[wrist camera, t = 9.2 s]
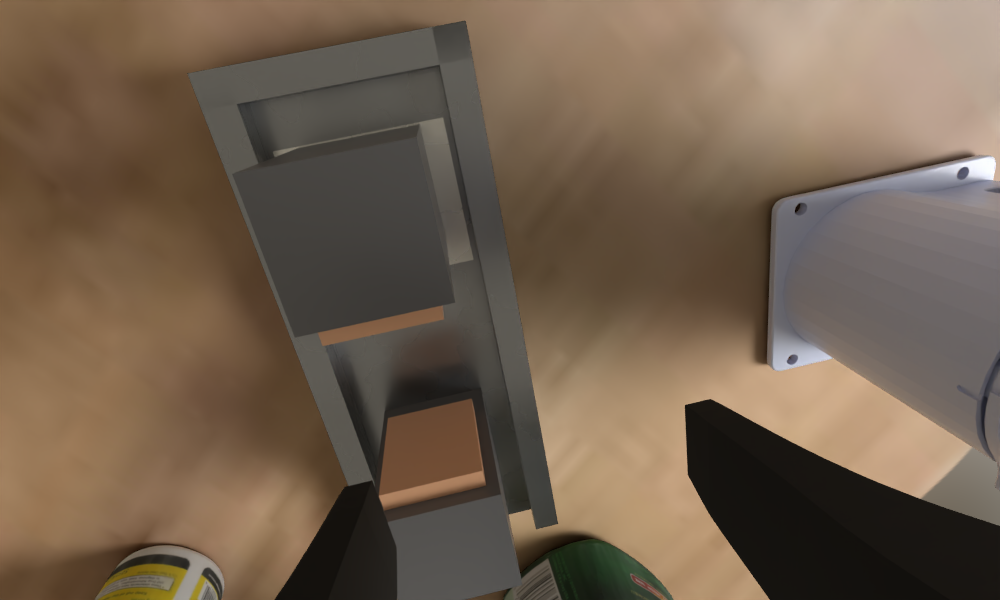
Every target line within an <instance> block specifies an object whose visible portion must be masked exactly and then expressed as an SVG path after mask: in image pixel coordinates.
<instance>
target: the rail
mask: <svg viewBox="0 0 1000 600" xmlns="http://www.w3.org/2000/svg"><path fill="white" fill-rule="evenodd" d="M187 74H188V76H189V79H190V82H191V84H192V87H193V89H194V92H195V94H196V97H197V100H198V102H199V105H200V107H201V110H202V112H203V115H204V117H205V120H206V123H207V125H208V128H209V130H210V133H211V135H212V138H213V141H214V143H215V146H216V148H217V151H218V153H219V156H220V158H221V161H222V164H223V166H224V169H225V171H226V174H227V176H228V179H229V181H230V184H231V187H232V189H233V192H234V194H235V197H236V199H237V202H238V205H239V207H240V210H241V212H242V215H243V217H244V220H245V222H246V225H247V228H248V230H249V233H250V235H251V238H252V240H253V243H254V246H255V248H256V251H257V253H258V256H259V258H260V261H261V263H262V266H263V269H264V271H265V274H266V276H267V279H268V281H269V284H270V286H271V289H272V292H273V294H274V297H275V299H276V302H277V304H278V307H279V310H280V312H281V315H282V317H283V320H284V322H285V325H286V327H287V330H288V333H289V335H290V338H291V340H292V343H293V345H294V348H295V351H296V353H297V356H298V358H299V361H300V363H301V366H302V368H303V371H304V374H305V376H306V379H307V381H308V384H309V386H310V389H311V391H312V394H313V397H314V399H315V402H316V404H317V407H318V409H319V412H320V415H321V417H322V420H323V422H324V425H325V427H326V430H327V432H328V435H329V438H330V440H331V443H332V445H333V448H334V450H335V453H336V456H337V458H338V461H339V463H340V466H341V468H342V471H343V473H344V476H345V479H346V481H347V484H348V486H350V485H355V484H359V483H363V482H367V481H371V480H372V481H373V483H374V486H375V481H376V474H377V466H378V458H379V451H380V443H381V436H382V428H383V421H384V413H385V411H386V410H390V409H394V408H399V407H403V406H407V405H412V404H416V403H420V402H425V401H429V400H433V399H437V398H442V397H446V396H450V395H455V394H459V393H463V392H468V391H472V390H476V389H480V388H481V391H482V395H483V399H484V404H485V408H486V412H487V417H488V421H489V425H490V429H491V434H492V438H493V442H494V447H495V451H496V455H497V460H498V464H499V469H500V474H501V479H502V484H503V489H504V494H505V499H506V504H507V509H508V514H512V513H516V512H521V511H525V510H529V509H531V511H532V515H533V519H534V523H535V526H536V529H539V528H543V527H547V526H551V525H555V524H558V521H557V516H556V510H555V505H554V499H553V494H552V488H551V483H550V477H549V472H548V467H547V461H546V456H545V450H544V445H543V439H542V434H541V428H540V423H539V418H538V412H537V407H536V401H535V396H534V390H533V385H532V379H531V374H530V368H529V363H528V358H527V352H526V347H525V341H524V336H523V330H522V325H521V319H520V314H519V308H518V303H517V298H516V292H515V287H514V281H513V276H512V270H511V265H510V259H509V254H508V249H507V243H506V238H505V232H504V227H503V221H502V216H501V210H500V205H499V199H498V194H497V189H496V183H495V178H494V172H493V167H492V161H491V156H490V150H489V145H488V139H487V134H486V129H485V123H484V118H483V112H482V107H481V101H480V96H479V90H478V85H477V80H476V74H475V69H474V63H473V58H472V52H471V47H470V41H469V36H468V30H467V25H466V21H461V22H456V23H450V24H445V25H440V26H435V27H429V28H424V29H419V30H414V31H408V32H403V33H398V34H392V35H387V36H382V37H377V38H371V39H366V40H361V41H356V42H350V43H345V44H340V45H335V46H329V47H324V48H319V49H314V50H308V51H303V52H298V53H293V54H287V55H282V56H277V57H271V58H266V59H261V60H256V61H250V62H245V63H240V64H235V65H229V66H224V67H219V68H214V69H208V70H203V71H198V72H193V73H187ZM418 124H420V128H421V132H422V136H423V141H424V145H425V149H426V154H427V158H428V163H429V167H430V171H431V176H432V180H433V184H434V189H435V193H436V198H437V202H438V206H439V211H440V215H441V219H442V224H443V228H444V233H445V237H446V242H447V249H448V256H449V263H450V270H451V277H452V284H453V291H454V298H455V303H451V304H447V305H443V313H444V320H439V321H435V322H430V323H426V324H421V325H417V326H412V327H407V328H403V329H398V330H394V331H389V332H385V333H380V334H376V335H371V336H367V337H362V338H358V339H353V340H348V341H344V342H339V343H335V344H330V345H326V346H322V343H321V340H320V338H319V335H318V333H314V334H310V335H305V336H301V337H296V338H295V337H294V334H293V332H292V329H291V327H290V324H289V321H288V319H287V316H286V314H285V311H284V308H283V306H282V303H281V300H280V298H279V295H278V293H277V290H276V287H275V285H274V282H273V280H272V277H271V274H270V272H269V269H268V266H267V264H266V261H265V259H264V256H263V253H262V251H261V248H260V246H259V243H258V240H257V238H256V235H255V232H254V230H253V227H252V225H251V222H250V219H249V217H248V214H247V212H246V209H245V206H244V204H243V201H242V198H241V196H240V193H239V191H238V188H237V185H236V183H235V180H234V178H233V175H232V174H233V173H236V172H238V171H241V170H243V169H246V168H248V167H251V166H253V165H256V164H259V163H261V162H264V161H266V160H269V159H271V158H274V157H276V156H279V155H282V154H284V153H287V152H289V151H292V150H294V149H297V148H301V147H306V146H311V145H316V144H321V143H326V142H331V141H337V140H342V139H347V138H352V137H357V136H362V135H367V134H372V133H377V132H382V131H387V130H392V129H397V128H402V127H408V126H413V125H418Z"/></svg>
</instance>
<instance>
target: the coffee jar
mask: <svg viewBox="0 0 1000 600" xmlns="http://www.w3.org/2000/svg"><path fill="white" fill-rule="evenodd" d="M520 575H521V580H522V585H521V586H517V587H513V588H509V589H508V591H507V592H506V594H505V596H504V598H503V600H673V598H672V596H671V595H670V593H669V592H668V590H667V589H666V588H665V587H664V586H663V584H662V583H661V582H660V581H659V580H658V579H657V578H656V577H655V576H654V575H653V574H652V573H651V572H650V571H649V570H648V569H646V568H645V567H644V566H643V565H642V564H640V563H639V562H638V561H637V560H635V559H634V558H632V557H631V556H629V555H628V554H626V553H625V552H623V551H622V550H620V549H618V548H616V547H615V546H613V545H611V544H609V543H606V542H604V541H600V540H596V539H588V540H584V541H579V542H574V543H571V544H568V545H565V546H563V547H561V548H558V549H555V550H552V551H550V552H548V553H546V554H545V555H543V556H542V557H540V558H539V559H537V560H536V561H535V562H533V563H532V564H531V565H530V566H529V567H527V568H526V569H525V570H524V571H523V572H522V573H521V574H520Z"/></svg>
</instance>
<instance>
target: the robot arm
mask: <svg viewBox="0 0 1000 600" xmlns="http://www.w3.org/2000/svg"><path fill="white" fill-rule="evenodd" d="M995 167H996V161H995V159H994V157H992V156H987V155H978V156H973V157H968V158H964V159H959V160H955V161H950V162H945V163H941V164H936V165H932V166H927V167H923V168H918V169H913V170H909V171H904V172H900V173H895V174H890V175H886V176H881V177H877V178H872V179H868V180H863V181H858V182H854V183H849V184H845V185H840V186H835V187H831V188H826V189H822V190H817V191H813V192H808V193H803V194H799V195H794V196H790V197H785V198H782V199H780V200H778V201H777V202H776V203H775V205H774V206H773V209H772V220H771V251H770V281H769V312H768V342H767V364H768V365H769V366H770V367H771V368H772V369H773V370H775V371H783V370H787V369H791V368H795V367H799V366H804V365H808V364H812V363H816V362H820V361H824V360H829V359H833V358H834V359H835V360H837V361H839V362H840V363H842V364H843V365H845V366H846V367H848V368H850V369H851V370H853V371H854V372H856V373H857V374H859V375H860V376H862V377H864V378H865V379H867V380H868V381H870V382H871V383H873V384H875V385H876V386H878V387H879V388H881V389H882V390H884V391H886V392H887V393H889V394H890V395H892V396H893V397H895V398H897V399H898V400H900V401H901V402H903V403H904V404H906V405H907V406H909V407H911V408H912V409H914V410H915V411H917V412H918V413H920V414H922V415H923V416H925V417H926V418H928V419H929V420H931V421H933V422H934V423H936V424H937V425H939V426H940V427H942V428H944V429H945V430H947V431H948V432H950V433H951V434H953V435H954V436H956V437H958V438H959V439H961V440H962V441H964V442H965V443H967V444H969V445H970V446H972V447H973V448H975V449H977V450H978V451H980V452H981V453H983V454H984V455H986V456H987V457H989V458H991V459H992V460H994V461H996V462H997V464H998V475H997V479H996V482H995V488H997V489H998V490H999V491H1000V181H993V177H994V172H995ZM958 171H959V173H958ZM957 173H958V175H957ZM799 203H800V209H799V210H798V211H797V212H796V213H795V207H796V206H797V205H798V204H799ZM791 355H792V356H791ZM789 356H791V358H790V359H788V357H789ZM787 359H788V360H787ZM685 419H686V442H687V465H688V476H689V478H690V479H691V481H692V483H693V485H694V487H695V489H696V491H697V493H698V495H699V496H700V498H701V500H702V502H703V504H704V505H705V507H706V509H707V511H708V512H709V514H710V516H711V517H712V519H713V520H714V522H715V523H716V525H717V526H718V527H719V529H720V530H721V532H722V533H723V535H724V536H725V537H726V539H727V540H728V542H729V543H730V545H731V546H732V547H733V549H734V550H735V552H736V553H737V554H738V556H739V557H740V559H741V560H742V561H743V563H744V564H745V566H746V567H747V568H748V570H749V571H750V573H751V574H752V575H753V577H754V578H755V579H756V581H757V582H758V584H759V585H760V586H761V588H762V589H763V591H764V592H765V593H766V595H767V596H768V598H769V599H770V600H1000V526H998V525H995V524H992V523H989V522H986V521H983V520H980V519H977V518H973V517H971V516H968V515H965V514H962V513H958V512H955V511H953V510H949V509H946V508H944V507H941V506H938V505H935V504H932V503H930V502H927V501H924V500H921V499H919V498H916V497H914V496H911V495H909V494H906V493H903V492H901V491H898V490H896V489H893V488H891V487H888V486H886V485H883V484H880V483H878V482H876V481H873V480H871V479H869V478H866V477H864V476H862V475H859V474H857V473H855V472H853V471H850V470H848V469H846V468H844V467H842V466H840V465H837V464H835V463H833V462H831V461H829V460H826V459H824V458H822V457H820V456H818V455H816V454H814V453H812V452H810V451H808V450H806V449H804V448H802V447H800V446H798V445H796V444H794V443H792V442H790V441H788V440H786V439H784V438H782V437H781V436H779V435H777V434H775V433H773V432H771V431H769V430H767V429H766V428H764V427H762V426H760V425H758V424H756V423H754V422H753V421H751V420H749V419H747V418H745V417H743V416H742V415H740V414H738V413H736V412H734V411H732V410H731V409H729V408H727V407H725V406H723V405H721V404H719V403H717V402H715V401H713V400H711V399H709V400H705V401H700V402H696V403H692V404H688V405H685ZM275 600H397V547H396V544H395V541H394V538H393V536H392V533H391V530H390V527H389V525H388V522H387V519H386V516H385V514H384V511H383V508H382V505H381V503H380V500H379V497H378V494H377V492H376V489H375V486H374V483H373V481H372V480H371V481H367V482H363V483H359V484H355V485H350V486H346V487H345V488H344V489H343V490H342V492H341V494H340V495H339V497H338V499H337V500H336V502H335V504H334V505H333V507H332V509H331V510H330V512H329V514H328V516H327V517H326V519H325V521H324V522H323V524H322V526H321V527H320V529H319V531H318V532H317V534H316V536H315V538H314V539H313V541H312V543H311V544H310V546H309V547H308V549H307V551H306V552H305V554H304V555H303V557H302V559H301V560H300V562H299V563H298V565H297V567H296V568H295V570H294V571H293V573H292V575H291V576H290V578H289V579H288V581H287V582H286V584H285V585H284V587H283V588H282V590H281V591H280V592H279V594H278V595H277V597H276V598H275Z"/></svg>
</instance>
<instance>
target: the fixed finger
mask: <svg viewBox="0 0 1000 600" xmlns="http://www.w3.org/2000/svg"><path fill="white" fill-rule="evenodd" d="M375 489H376V492H377V494H378V497H379V500H380V503H381V505H382V508H383V511H384V514H385V516H386V519H387V522H388V525H389V527H390V530H391V533H392V536H393V538H394V541H395V544H396V547H397V599H398V600H466V599H470V598H474V597H478V596H482V595H486V594H490V593H493V592H497V591H501V590H505V589H509V588H513V587H517V586H521V585H522V580H521V575H520V570H519V565H518V560H517V555H516V550H515V545H514V540H513V535H512V530H511V525H510V519H509V514H508V509H507V504H506V499H505V494H504V489H503V484H502V479H501V474H500V469H499V464H498V460H497V455H496V451H495V447H494V442H493V438H492V434H491V429H490V425H489V421H488V417H487V412H486V408H485V404H484V399H483V395H482V391H481V388H480V389H476V390H472V391H468V392H463V393H459V394H455V395H450V396H446V397H442V398H437V399H433V400H429V401H425V402H420V403H416V404H412V405H407V406H403V407H399V408H394V409H390V410H386V411H385V413H384V421H383V428H382V436H381V443H380V451H379V458H378V466H377V474H376V481H375Z"/></svg>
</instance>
